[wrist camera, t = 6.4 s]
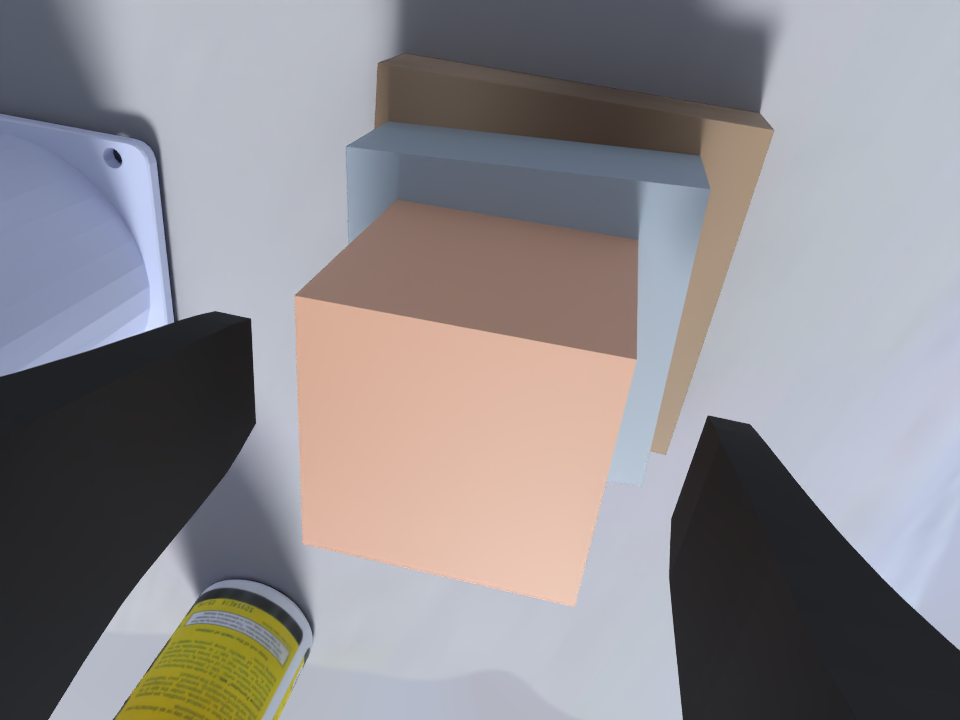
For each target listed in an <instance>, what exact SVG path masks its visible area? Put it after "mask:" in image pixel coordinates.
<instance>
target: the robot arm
mask: <svg viewBox="0 0 960 720" xmlns="http://www.w3.org/2000/svg"><path fill="white" fill-rule="evenodd" d="M113 149H115V150H117V152H118V153H119V154H120V155H121V158H122V164H121V163H119V162H118V161H117V160H116V159H115V157H114V154H113ZM255 424H256V415H255V394H254V373H253V352H252V331H251V319H249V318H245V317H240V316H235V315H231V314H226V313H221V312H216V311H214V312H210V313H205V314H201V315H197V316H193V317H190V318H187V319H183V320H180V321H177V322H174V316H173V307H172V298H171V289H170V280H169V271H168V262H167V253H166V244H165V235H164V226H163V217H162V208H161V199H160V190H159V180H158V171H157V162H156V159H155V155H154V153H153V151H152V150H151V148H150V147H149V146H148V145H147V144H145V143H144V142H143V141H140V140H137V139H133V138H128V137H123V136H117V135H112V134H106V133H101V132H96V131H90V130H85V129H80V128H74V127H69V126H63V125H58V124H53V123H47V122H42V121H37V120H31V119H26V118H20V117H15V116H10V115H4V114H0V720H48V719H49V718H50V716H51V714H52V713H53V711H54V709H55V708H56V706H57V705H58V703H59V701H60V700H61V698H62V696H63V695H64V693H65V692H66V690H67V688H68V687H69V685H70V683H71V682H72V680H73V678H74V677H75V675H76V674H77V672H78V670H79V669H80V667H81V666H82V664H83V662H84V661H85V659H86V658H87V656H88V655H89V653H90V651H91V650H92V649H93V647H94V645H95V644H96V643H97V641H98V640H99V638H100V636H101V635H102V633H103V632H104V630H105V629H106V627H107V626H108V624H109V623H110V621H111V620H112V618H113V617H114V615H115V614H116V612H117V611H118V609H119V608H120V606H121V605H122V603H123V602H124V601H125V599H126V598H127V597H128V595H129V594H130V593H131V591H132V590H133V589H134V587H135V586H136V585H137V583H138V582H139V580H140V579H141V578H142V577H143V575H144V574H145V573H146V572H147V571H148V569H149V568H150V567H151V566H152V564H153V563H154V562H155V561H156V560H157V558H158V557H159V556H160V555H161V553H162V552H163V551H164V550H165V549H166V547H167V546H168V545H169V544H170V542H171V541H172V540H173V539H174V538H175V536H176V535H177V534H178V533H179V531H180V530H181V529H182V528H183V527H184V525H185V524H186V523H187V522H188V520H189V519H190V518H191V517H192V516H193V514H194V513H195V512H196V511H197V509H198V508H199V507H200V506H201V505H202V503H203V502H204V501H205V500H206V498H207V497H208V496H209V495H210V493H211V492H212V491H213V490H214V488H215V487H216V486H217V485H218V483H219V482H220V481H221V479H222V478H223V477H224V476H225V474H226V473H227V471H228V470H229V468H230V467H231V465H232V463H233V462H234V460H235V459H236V457H237V455H238V454H239V452H240V451H241V449H242V447H243V445H244V443H245V442H246V440H247V438H248V436H249V435H250V433H251V431H252V429H253V428H254V426H255ZM669 581H670V592H671V603H672V614H673V625H674V635H675V645H676V655H677V665H678V675H679V685H680V695H681V705H682V715H683V720H960V650H959V649H957V648H956V647H955V646H954V645H953V644H952V643H950V642H949V641H948V640H947V639H946V638H945V637H944V636H943V635H942V634H940V633H939V632H938V631H937V630H936V629H935V628H934V627H933V626H932V625H931V624H930V623H929V622H927V621H926V620H925V619H924V618H923V617H922V616H921V615H920V614H919V613H918V612H917V611H916V610H915V609H913V608H912V607H911V606H910V605H909V604H908V603H907V602H906V601H905V600H904V599H903V598H902V597H901V596H900V595H899V594H898V593H897V592H896V591H895V590H894V589H893V588H892V587H890V586H889V585H888V584H887V583H886V582H885V581H884V580H883V579H882V578H881V576H880V575H879V574H878V573H877V572H876V571H875V570H874V569H873V568H872V567H871V566H870V565H869V564H868V563H867V562H866V561H865V560H864V558H863V557H862V556H861V555H860V554H859V553H858V552H857V551H856V550H855V549H854V548H853V547H852V546H851V545H850V544H849V543H848V541H847V540H846V539H845V538H844V537H843V536H842V535H841V534H840V532H839V531H838V530H837V529H836V528H835V527H834V526H833V525H832V523H831V522H830V521H829V520H828V519H827V518H826V516H825V515H824V514H823V513H822V512H821V511H820V509H819V508H818V507H817V506H816V505H815V503H814V502H813V501H812V500H811V499H810V497H809V496H808V495H807V494H806V493H805V491H804V490H803V489H802V488H801V486H800V485H799V484H798V483H797V482H796V480H795V479H794V478H793V477H792V475H791V474H790V473H789V471H788V470H787V469H786V468H785V466H784V465H783V464H782V463H781V461H780V460H779V459H778V458H777V456H776V455H775V454H774V453H773V451H772V450H771V449H770V448H769V446H768V445H767V444H766V443H765V441H764V440H763V439H762V438H761V436H760V435H759V434H758V433H757V432H756V431H755V429H754V428H753V427H752V426H751V425H750V424H746V423H741V422H736V421H732V420H727V419H722V418H718V417H713V416H708V417H707V419H706V422H705V425H704V428H703V431H702V434H701V436H700V439H699V442H698V445H697V448H696V451H695V453H694V456H693V459H692V462H691V465H690V468H689V470H688V473H687V476H686V479H685V482H684V484H683V487H682V490H681V493H680V496H679V499H678V501H677V504H676V507H675V510H674V513H673V516H672V518H671V539H670V568H669Z"/></svg>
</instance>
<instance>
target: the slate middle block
mask: <svg viewBox="0 0 960 720" xmlns="http://www.w3.org/2000/svg"><path fill="white" fill-rule="evenodd" d="M346 171H347V204H348V237H349V244H350V243H351V242H352V241H353V240H354V239H355V238H356V237H357V236H359V235H360V234H361V233H362V232H363V231H364V230H365V229H366V228H367V227H368V226H369V225H370V224H371V223H372V222H373V221H374V220H376V219H377V218H378V217H379V216H380V215H381V214H382V213H383V212H384V211H385V210H386V209H387V208H388V207H389V206H390V205H391V204H393V203H394V202H395V201H396V200H403V201H409V202H415V203H421V204H427V205H432V206H438V207H444V208H450V209H456V210H462V211H468V212H474V213H480V214H486V215H492V216H498V217H504V218H510V219H516V220H522V221H528V222H534V223H540V224H546V225H552V226H558V227H564V228H570V229H576V230H582V231H588V232H594V233H600V234H606V235H612V236H618V237H624V238H630V239H636V240H638V308H637V361H636V365H635V369H634V373H633V377H632V381H631V385H630V389H629V393H628V397H627V401H626V405H625V409H624V413H623V417H622V421H621V425H620V429H619V433H618V437H617V441H616V445H615V449H614V453H613V457H612V461H611V465H610V469H609V473H608V477H607V481H613V482H618V483H624V484H630V485H635V486H641V487H642V484H643V480H644V476H645V471H646V467H647V463H648V458H649V454H650V450H651V445H652V441H653V437H654V432H655V428H656V424H657V419H658V415H659V411H660V406H661V402H662V398H663V394H664V389H665V385H666V381H667V376H668V372H669V368H670V363H671V359H672V355H673V350H674V346H675V342H676V337H677V333H678V329H679V324H680V320H681V316H682V311H683V307H684V303H685V298H686V294H687V290H688V285H689V281H690V277H691V272H692V268H693V264H694V259H695V255H696V251H697V246H698V242H699V238H700V234H701V229H702V225H703V221H704V216H705V212H706V208H707V203H708V199H709V195H710V190H711V188H710V185H709V182H708V179H707V175H706V172H705V169H704V166H703V162H702V159H701V156H700V155H691V154H682V153H673V152H664V151H655V150H646V149H637V148H628V147H618V146H609V145H600V144H591V143H582V142H573V141H564V140H555V139H546V138H537V137H528V136H519V135H510V134H500V133H491V132H482V131H473V130H464V129H454V128H445V127H436V126H427V125H418V124H408V123H399V122H390V121H388V122H386V123H384V124H383V125H381V126H379V127H378V128H376V129H374V130H373V131H371V132H369V133H368V134H366V135H364V136H363V137H361V138H359V139H358V140H356V141H354V142H353V143H351V144H349V145H348V146H346Z"/></svg>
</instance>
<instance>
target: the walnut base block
mask: <svg viewBox="0 0 960 720" xmlns="http://www.w3.org/2000/svg"><path fill="white" fill-rule="evenodd" d="M388 121H390V122H399V123H408V124H418V125H427V126H436V127H445V128H454V129H464V130H473V131H482V132H491V133H500V134H510V135H519V136H528V137H537V138H546V139H555V140H564V141H573V142H582V143H591V144H600V145H609V146H618V147H628V148H637V149H646V150H655V151H664V152H673V153H682V154H691V155H700V156H701V159H702V162H703V166H704V169H705V172H706V175H707V179H708V182H709V185H710V188H711V190H710V195H709V199H708V203H707V208H706V212H705V216H704V221H703V225H702V229H701V234H700V238H699V242H698V246H697V251H696V255H695V259H694V264H693V268H692V272H691V277H690V281H689V285H688V290H687V294H686V298H685V303H684V307H683V311H682V316H681V320H680V324H679V329H678V333H677V337H676V342H675V346H674V350H673V355H672V359H671V363H670V368H669V372H668V376H667V381H666V385H665V389H664V394H663V398H662V402H661V406H660V411H659V415H658V419H657V424H656V428H655V432H654V437H653V441H652V445H651V450H650V451H651V452H656V453H660V454H665V455H666V453H667V450H668V447H669V444H670V441H671V438H672V435H673V432H674V429H675V426H676V423H677V420H678V417H679V414H680V411H681V408H682V405H683V402H684V399H685V396H686V393H687V390H688V387H689V384H690V381H691V378H692V375H693V372H694V370H695V367H696V364H697V361H698V358H699V355H700V352H701V349H702V346H703V343H704V340H705V337H706V334H707V331H708V328H709V325H710V322H711V319H712V316H713V313H714V310H715V307H716V304H717V301H718V298H719V295H720V292H721V289H722V286H723V283H724V280H725V277H726V274H727V271H728V268H729V265H730V262H731V259H732V256H733V253H734V250H735V247H736V244H737V241H738V238H739V235H740V232H741V229H742V226H743V223H744V220H745V217H746V214H747V211H748V208H749V205H750V202H751V199H752V196H753V193H754V190H755V187H756V184H757V181H758V178H759V175H760V172H761V169H762V166H763V163H764V160H765V157H766V154H767V151H768V148H769V145H770V142H771V139H772V136H773V133H774V129H773V128H772V127H771V126H770V125H769V123H768V122H767V121H766V120H765V119H764V117H763V116H762V115H761V114H760V113H757V112H751V111H745V110H739V109H733V108H727V107H721V106H715V105H709V104H703V103H697V102H691V101H686V100H680V99H674V98H668V97H662V96H656V95H650V94H644V93H638V92H632V91H626V90H620V89H614V88H608V87H602V86H596V85H590V84H585V83H579V82H573V81H567V80H561V79H555V78H549V77H543V76H537V75H531V74H525V73H519V72H513V71H507V70H501V69H495V68H490V67H484V66H478V65H472V64H466V63H460V62H454V61H448V60H442V59H436V58H430V57H424V56H418V55H412V54H406V53H403V54H401V55H398V56H395V57H393V58H390V59H387V60H385V61H382V62H379V63H378V69H377V89H376V109H375V129H376V128H378V127H379V126H381V125H383V124H384V123H386V122H388Z"/></svg>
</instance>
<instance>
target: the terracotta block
mask: <svg viewBox="0 0 960 720" xmlns="http://www.w3.org/2000/svg"><path fill="white" fill-rule="evenodd" d="M637 308H638V240H636V239H630V238H624V237H618V236H612V235H606V234H600V233H594V232H588V231H582V230H576V229H570V228H564V227H558V226H552V225H546V224H540V223H534V222H528V221H522V220H516V219H510V218H504V217H498V216H492V215H486V214H480V213H474V212H468V211H462V210H456V209H450V208H444V207H438V206H432V205H427V204H421V203H415V202H409V201H403V200H396V201H395V202H394V203H393V204H391V205H390V206H389V207H388V208H387V209H386V210H385V211H384V212H383V213H382V214H381V215H380V216H379V217H378V218H377V219H376V220H374V221H373V222H372V223H371V224H370V225H369V226H368V227H367V228H366V229H365V230H364V231H363V232H362V233H361V234H360V235H359V236H357V237H356V238H355V239H354V240H353V241H352V242H351V243H350V244H349V245H348V246H347V247H346V248H345V249H344V250H343V251H342V252H340V253H339V254H338V255H337V256H336V257H335V258H334V259H333V260H332V261H331V262H330V263H329V264H328V265H327V266H326V267H325V268H323V269H322V270H321V271H320V272H319V273H318V274H317V275H316V276H315V277H314V278H313V279H312V280H311V281H310V282H309V283H308V284H306V285H305V286H304V287H303V288H302V289H301V290H300V291H299V292H298V293H297V294H296V295H295V324H296V355H297V385H298V415H299V446H300V476H301V507H302V537H303V544H305V545H309V546H314V547H318V548H322V549H327V550H331V551H335V552H340V553H344V554H348V555H352V556H357V557H361V558H365V559H370V560H374V561H378V562H383V563H387V564H391V565H396V566H400V567H404V568H409V569H413V570H417V571H421V572H426V573H430V574H434V575H439V576H443V577H447V578H452V579H456V580H460V581H465V582H469V583H473V584H477V585H482V586H486V587H490V588H495V589H499V590H503V591H508V592H512V593H516V594H521V595H525V596H529V597H534V598H538V599H542V600H546V601H551V602H555V603H559V604H564V605H568V606H572V607H575V604H576V600H577V596H578V592H579V588H580V584H581V580H582V576H583V572H584V568H585V564H586V560H587V556H588V552H589V548H590V544H591V540H592V536H593V532H594V528H595V525H596V521H597V517H598V513H599V509H600V505H601V501H602V497H603V493H604V489H605V485H606V481H607V477H608V473H609V469H610V465H611V461H612V457H613V453H614V449H615V445H616V441H617V437H618V433H619V429H620V425H621V421H622V417H623V413H624V409H625V405H626V401H627V397H628V393H629V389H630V385H631V381H632V377H633V373H634V369H635V365H636V361H637Z"/></svg>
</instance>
